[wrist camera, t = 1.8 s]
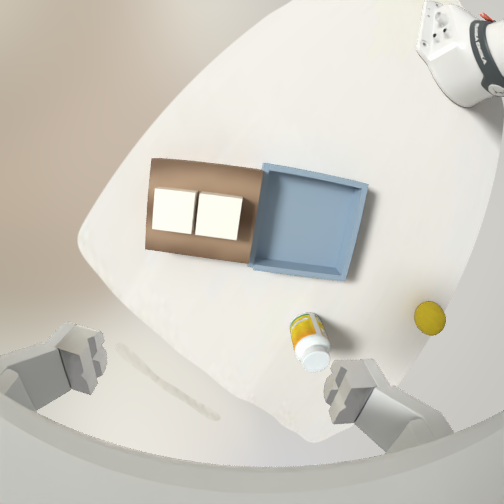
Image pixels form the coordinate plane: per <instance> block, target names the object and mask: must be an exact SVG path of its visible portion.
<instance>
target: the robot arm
mask: <svg viewBox="0 0 504 504" xmlns="http://www.w3.org/2000/svg"><path fill="white" fill-rule="evenodd" d="M483 14H484V15H485V16H484V15H482V14H480V16H482V17H483V18H484V19H485V20H486V21H480V20H479V19H478V18H476V17H475V16H474V15H472V14H471V13H469V12H468V11H467V10H465V9H463V8H461V7H459V6H457V5H454V4H446V5H443V4H441V3H438V2H435V1H431V0H427V1H425V2H424V4H423V11H422V17H421V22H420V28H419V33H418V38H417V43H416V50H417V52H418V54H419V55H420V56H421V57H422V59H423V60H424V61H425V62H426V63H427V65H428V67H429V68H430V71H431V73H432V75H433V77H434V79H435V81H436V82H437V84H438V85H439V87H440V88H441V90H442V91H443V92H444V93H445V94H446V95H447V96H448V97H449V98H450V99H451V100H452V101H453V102H455V103H456V104H458V105H460V106H463V107H472V106H474V105H475V104H477V103H479V102H480V101H483V100H485V99H488V98H491V97H494V96H497V97H504V19H502V20H499V21H497V22H496V21H495V20H492V19H491V18H490V17H489V16H487V15H486V14H485V13H483ZM103 343H104V336H103V333H102V332H101V331H98V330H95V329H91V328H88V327H84V326H81V325H77V324H74V323H70V322H65V323H64V324H62V326H61V327H59V328H58V330H57V331H56V332H55V333H54V334H53V335H52V336H51V337H50V338H49V339H48V340H47V341H46V342H45V343H44V344H43V343H38V344H35V345H32V346H29V347H26V348H22V349H19V350H16V351H13V352H10V353H7V354H4V355H1V356H0V504H504V410H503V411H502V412H500V413H498V414H496V415H494V416H492V417H490V418H488V419H486V420H484V421H482V422H480V423H477V424H475V425H473V426H471V427H468V428H466V429H464V430H461V431H459V432H456V433H454V432H453V430H452V428H451V427H450V425H449V424H448V422H447V421H446V419H445V418H444V416H443V415H442V413H441V412H439V411H437V410H436V409H434V408H432V407H430V406H429V405H427V404H425V403H423V402H422V401H420V400H418V399H416V398H415V397H413V396H411V395H409V394H408V393H406V392H404V391H403V390H401V389H399V388H397V387H396V386H390V384H389V382H388V381H387V379H386V377H385V376H384V374H383V373H382V371H381V369H380V368H379V366H378V365H377V363H376V361H375V360H374V359H360V360H335V361H334V362H333V363H332V366H331V368H330V369H331V372H332V374H331V375H330V376H329V377H327V379H326V382H325V385H324V398H325V401H326V403H328V404H329V405H330V406H331V407H330V409H329V413H330V417H331V420H332V423H333V424H344V423H355V425H356V426H357V427H358V428H360V429H361V430H362V431H363V432H364V433H365V434H366V435H367V436H368V437H370V438H371V439H372V440H373V441H374V442H375V443H376V444H377V445H378V446H380V447H381V448H382V449H383V450H384V451H385V452H386V453H385V454H384V455H380V456H374V457H369V458H364V459H359V460H352V461H345V462H338V463H330V464H321V465H309V466H290V467H247V466H231V465H219V464H209V463H201V462H193V461H187V460H181V459H175V458H170V457H164V456H159V455H154V454H151V453H146V452H142V451H138V450H134V449H131V448H127V447H123V446H120V445H116V444H113V443H110V442H107V441H104V440H101V439H98V438H95V437H92V436H89V435H87V434H84V433H81V432H79V431H76V430H74V429H71V428H69V427H66V426H64V425H62V424H59V423H57V422H55V421H52V420H51V419H48V418H46V417H44V416H42V415H40V414H38V413H37V412H36V410H38V409H40V408H42V407H43V406H45V405H47V404H48V403H50V402H52V401H53V400H55V399H57V398H58V397H60V396H62V395H63V394H65V393H67V392H68V391H70V390H71V389H74V390H77V391H80V392H83V393H86V394H89V395H91V394H92V392H93V391H94V389H95V387H96V385H97V384H98V382H97V377H99V376H101V375H103V373H104V371H105V369H106V365H107V354H106V351H105V349H104V348H103V346H102V344H103Z"/></svg>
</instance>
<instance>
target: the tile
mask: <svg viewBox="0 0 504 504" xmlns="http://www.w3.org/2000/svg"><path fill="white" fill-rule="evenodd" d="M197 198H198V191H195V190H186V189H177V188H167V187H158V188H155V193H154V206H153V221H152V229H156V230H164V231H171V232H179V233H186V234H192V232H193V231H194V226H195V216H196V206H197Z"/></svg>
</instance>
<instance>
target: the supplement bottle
mask: <svg viewBox="0 0 504 504" xmlns="http://www.w3.org/2000/svg"><path fill="white" fill-rule="evenodd" d="M290 333H291V338H292V343H293V347H294V352H295V355H296V357H297V359H298V360H299V361H300V362H301V363H302V366H303V368H304V369H305V370H306V371H308V372H318V371H321V370H323V369H325V368H326V367H327V366H328V365H329V363H330V355H329V352H330V348H331V346H330V342H329V339H328V337H327V334H326V332H325V329H324V327H323V324H322V322H321V320H320V318H319V317H318V316H317V315H316V314H314V313H309V312H306V313H302V314H299V315H297V316H296V317H295V318H294V319H293V320H292V321H291V323H290Z"/></svg>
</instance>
